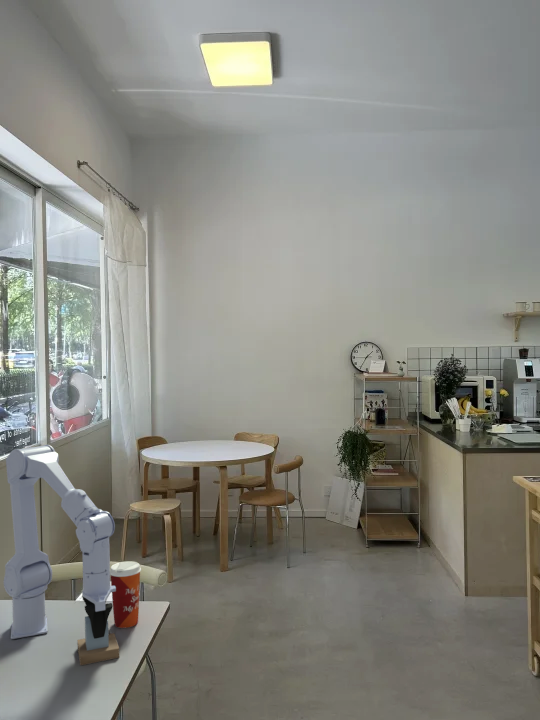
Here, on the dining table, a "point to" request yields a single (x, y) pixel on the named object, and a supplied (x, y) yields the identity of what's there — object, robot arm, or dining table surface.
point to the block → (89, 637)
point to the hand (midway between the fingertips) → (97, 632)
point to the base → (98, 651)
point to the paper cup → (125, 593)
